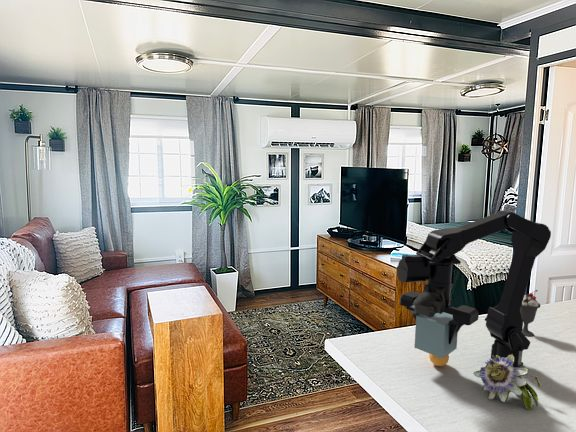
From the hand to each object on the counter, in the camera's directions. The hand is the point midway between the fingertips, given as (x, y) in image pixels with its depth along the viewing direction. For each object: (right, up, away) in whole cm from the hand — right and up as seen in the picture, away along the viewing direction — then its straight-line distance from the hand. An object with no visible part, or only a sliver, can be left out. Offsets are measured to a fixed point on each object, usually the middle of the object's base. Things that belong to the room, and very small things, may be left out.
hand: (435, 338), depth 102 cm
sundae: (+38, -6, +24) cm, 46 cm away
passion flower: (+13, -11, -10) cm, 20 cm away
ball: (+2, -6, +3) cm, 7 cm away
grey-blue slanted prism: (0, -3, +1) cm, 3 cm away
